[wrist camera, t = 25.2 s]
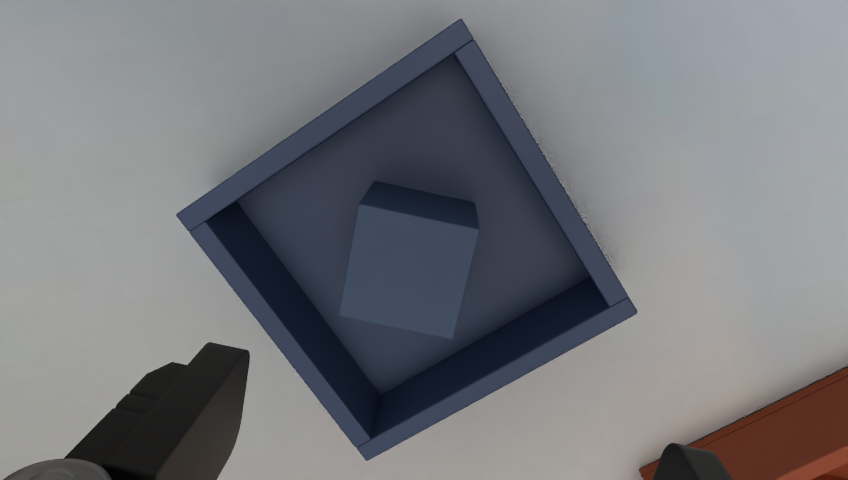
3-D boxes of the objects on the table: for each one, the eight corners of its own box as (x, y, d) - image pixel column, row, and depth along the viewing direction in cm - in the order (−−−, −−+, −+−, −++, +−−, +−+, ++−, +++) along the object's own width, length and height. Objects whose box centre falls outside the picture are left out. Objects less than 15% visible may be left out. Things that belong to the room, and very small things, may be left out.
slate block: (355, 276, 27) (337, 316, 22) (373, 180, 25) (357, 203, 21) (452, 297, 27) (453, 340, 22) (475, 202, 25) (480, 229, 21)
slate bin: (215, 193, 26) (175, 215, 22) (459, 25, 24) (461, 17, 20) (377, 409, 29) (366, 462, 25) (611, 278, 27) (638, 313, 23)
